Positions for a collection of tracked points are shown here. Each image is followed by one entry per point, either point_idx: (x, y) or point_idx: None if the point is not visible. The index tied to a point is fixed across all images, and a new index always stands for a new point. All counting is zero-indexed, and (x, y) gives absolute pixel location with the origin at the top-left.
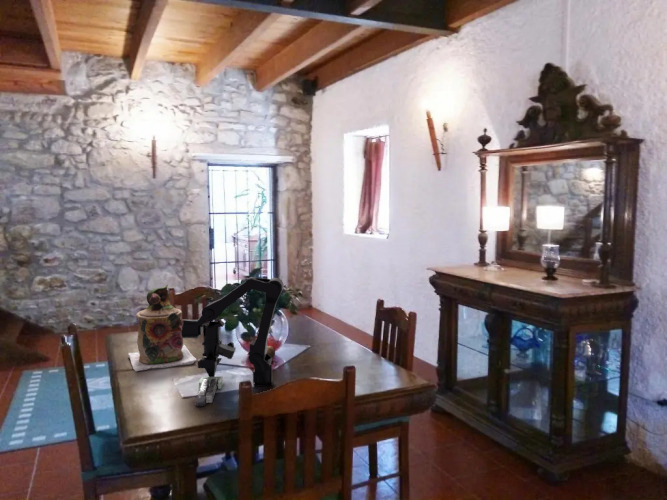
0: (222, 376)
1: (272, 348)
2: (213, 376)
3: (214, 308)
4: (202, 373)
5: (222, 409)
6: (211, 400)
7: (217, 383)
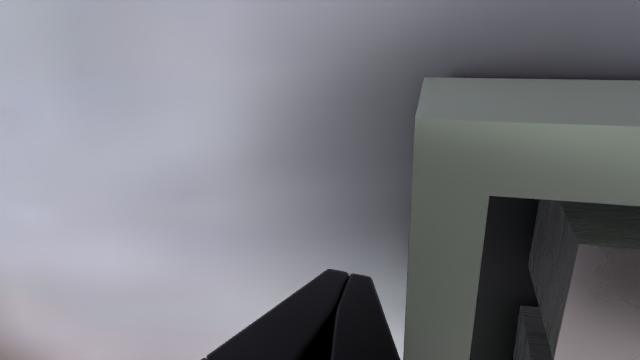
0: (425, 122)
1: None
2: (386, 322)
3: None
4: (12, 354)
5: None
6: None
7: None
